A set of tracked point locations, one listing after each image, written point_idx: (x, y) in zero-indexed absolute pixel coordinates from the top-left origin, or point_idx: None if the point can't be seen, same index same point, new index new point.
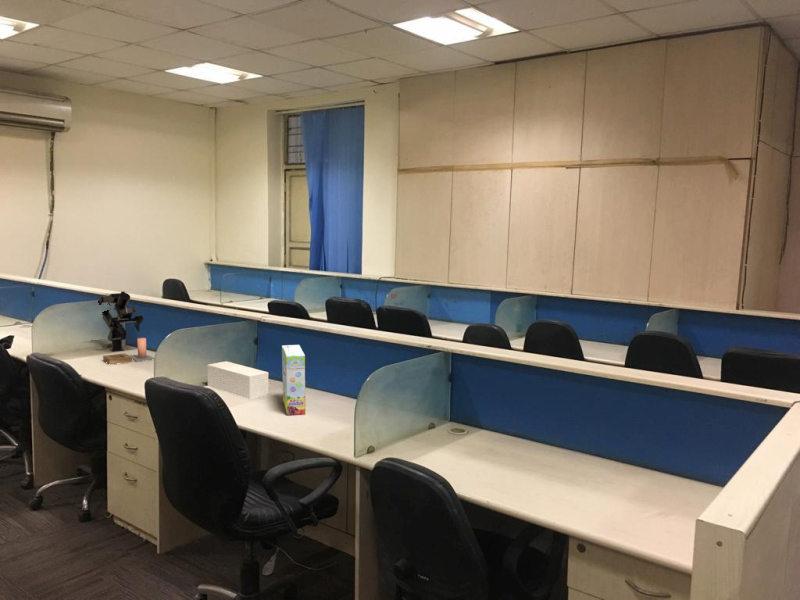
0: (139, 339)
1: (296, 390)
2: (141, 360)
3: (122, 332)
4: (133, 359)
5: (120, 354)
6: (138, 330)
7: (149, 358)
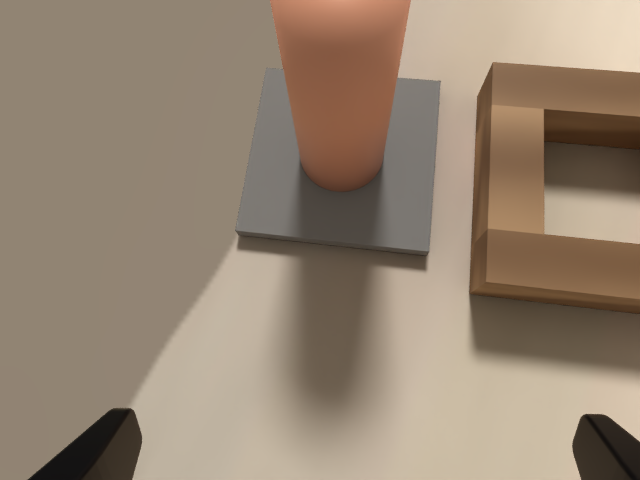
0: None
1: None
2: None
3: (613, 430)
4: (435, 152)
5: (553, 251)
6: (126, 424)
7: None
